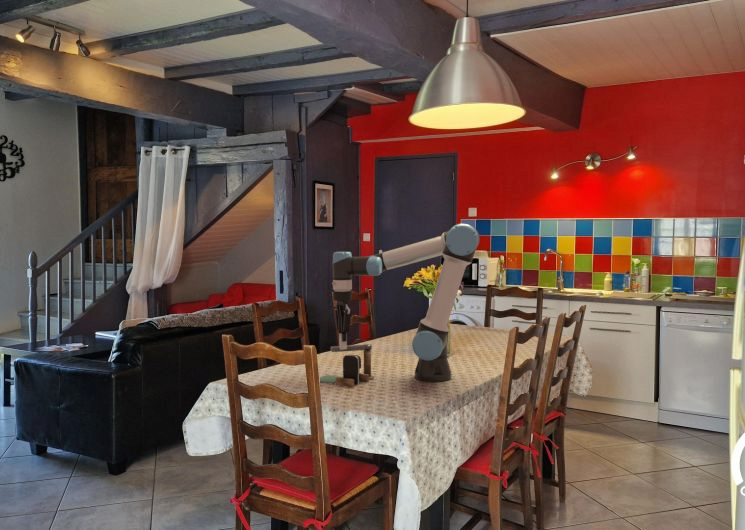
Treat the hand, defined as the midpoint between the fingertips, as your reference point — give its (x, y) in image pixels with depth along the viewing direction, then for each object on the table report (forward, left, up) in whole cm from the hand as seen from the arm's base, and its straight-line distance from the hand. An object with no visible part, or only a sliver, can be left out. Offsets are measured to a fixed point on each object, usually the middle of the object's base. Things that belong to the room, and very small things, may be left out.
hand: (343, 349), depth 255 cm
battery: (-5, +1, -13) cm, 14 cm away
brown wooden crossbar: (-1, -5, -1) cm, 5 cm away
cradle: (-5, -3, -13) cm, 14 cm away
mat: (+6, +1, -13) cm, 14 cm away
